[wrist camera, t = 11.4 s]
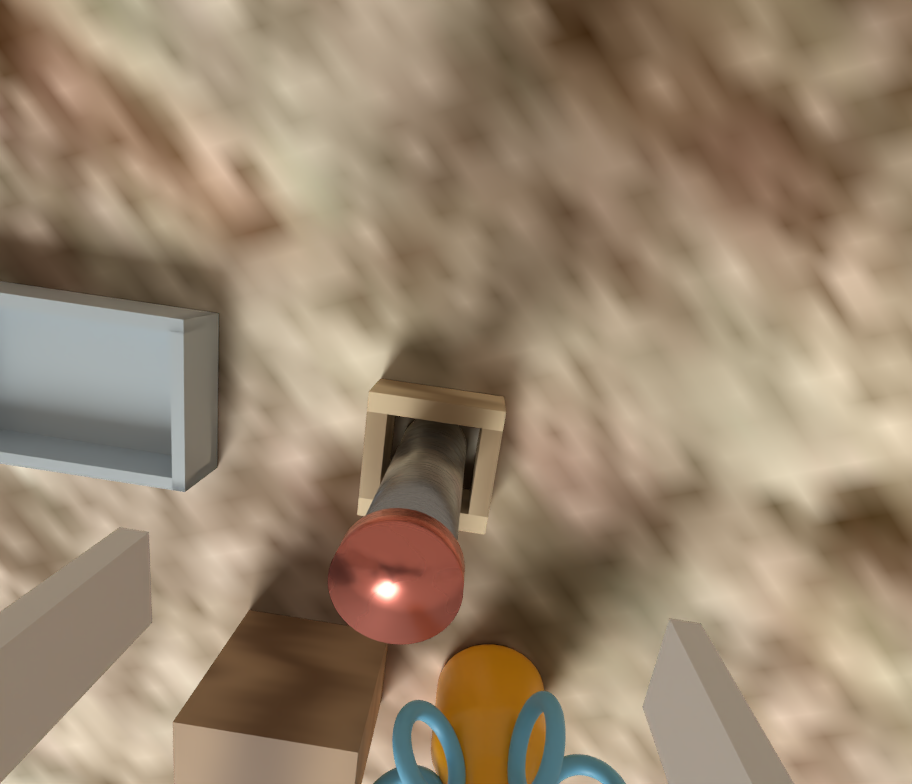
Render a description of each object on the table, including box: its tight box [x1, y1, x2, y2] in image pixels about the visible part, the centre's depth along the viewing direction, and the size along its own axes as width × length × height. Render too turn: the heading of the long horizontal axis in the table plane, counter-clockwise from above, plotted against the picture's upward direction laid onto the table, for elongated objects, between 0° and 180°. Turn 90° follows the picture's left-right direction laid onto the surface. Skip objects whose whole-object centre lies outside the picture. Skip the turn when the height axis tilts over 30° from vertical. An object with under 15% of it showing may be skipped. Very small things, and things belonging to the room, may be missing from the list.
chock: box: [173, 610, 388, 784], centre depth 25 cm, size 8×5×7 cm, turn 82°
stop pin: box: [328, 419, 466, 644], centre depth 19 cm, size 4×4×11 cm
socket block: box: [357, 379, 506, 535], centre depth 23 cm, size 6×6×2 cm
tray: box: [0, 281, 219, 492], centre depth 23 cm, size 12×8×3 cm, turn 82°
